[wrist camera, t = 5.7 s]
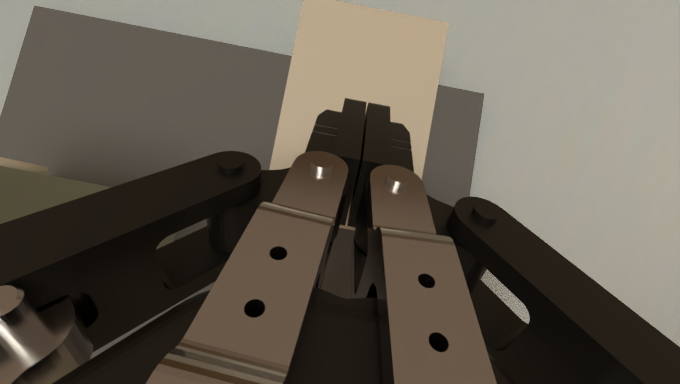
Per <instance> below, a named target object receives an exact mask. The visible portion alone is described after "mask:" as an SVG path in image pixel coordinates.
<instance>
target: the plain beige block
mask: <svg viewBox="0 0 680 384" xmlns="http://www.w3.org/2000/svg"><path fill="white" fill-rule="evenodd" d="M448 25H449V23H446V22H441V21H436V20H431V19H426V18H421V17H416V16H411V15H406V14H401V13H396V12H391V11H386V10H381V9H376V8H371V7H366V6H361V5H356V4H351V3H346V2H341V1H336V0H303V3H302V8H301V13H300V18H299V23H298V28H297V33H296V38H295V43H294V48H293V53H292V58H291V63H290V68H289V73H288V78H287V83H286V88H285V93H284V98H283V103H282V108H281V113H280V118H279V123H278V128H277V133H276V138H275V143H274V148H273V153H272V158H271V163H270V168H269V170H280V169H286V168H290V167H291V166H292V164H293V162H294V160H295V159H296V158H297V157H298V156H299V155H301V154H303V153H305V151H306V148H307V145H308V142H309V139H310V136H311V133H312V131H313V128H314V125H315V122H316V119H317V116H318V115H319V114H321V113H322V112H324V111H325V110H332V111H338V112H342V109H343V105H344V100H345V98H349V99H354V100H359V101H364V102H367V103H366V109H367V105H368V102H370V103H375V104H380V105H385V106H390V122H395V123H400V124H403V125H404V126H405V127H406V129H407V130H408V131H409V132H410V139H411V151H412V158H413V167H414V173H415V174H416V175H418V176H419V177H420V178H421V180H422V175H423V169H424V163H425V157H426V152H427V146H428V140H429V134H430V129H431V123H432V117H433V111H434V106H435V100H436V94H437V88H438V83H439V77H440V71H441V65H442V60H443V54H444V48H445V42H446V37H447V31H448ZM365 114H366V112H365ZM349 209H350V206H349ZM348 217H349V211H348V215H347V219H346V224H345V226H344V225H340V226H339V228H344V229H349V230H355V227H350V226H347V225H348Z"/></svg>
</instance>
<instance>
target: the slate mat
mask: <svg viewBox="0 0 680 384" xmlns="http://www.w3.org/2000/svg"><path fill="white" fill-rule="evenodd" d="M291 58H292V56H288V55H283V54H278V53H273V52H268V51H263V50H258V49H253V48H248V47H242V46H237V45H232V44H227V43H222V42H217V41H212V40H207V39H202V38H197V37H191V36H186V35H181V34H176V33H171V32H166V31H161V30H156V29H151V28H146V27H140V26H135V25H130V24H125V23H120V22H115V21H110V20H105V19H100V18H95V17H89V16H84V15H79V14H74V13H69V12H64V11H59V10H54V9H49V8H44V7H38V6H34V9H33V12H32V15H31V19H30V22H29V25H28V28H27V32H26V35H25V38H24V41H23V45H22V48H21V51H20V55H19V58H18V61H17V64H16V68H15V71H14V74H13V78H12V81H11V84H10V87H9V91H8V94H7V97H6V101H5V104H4V107H3V110H2V114H1V117H0V157H3V158H8V159H13V160H18V161H22V162H27V163H32V164H37V165H41V166H46V167H49V168H48V171H47V175H51V176H56V177H61V178H66V179H72V180H77V181H82V182H87V183H92V184H98V185H103V186H108V187H114V186H117V185H120V184H123V183H126V182H129V181H132V180H135V179H138V178H141V177H145V176H148V175H151V174H154V173H157V172H160V171H163V170H166V169H169V168H172V167H175V166H178V165H181V164H184V163H187V162H190V161H193V160H196V159H199V158H202V157H205V156H208V155H211V154H214V153H218V152H223V151H239V152H244V153H247V154H250V155H252V156H253V157H255V158H256V159H257V160H258V161H259V162H260V164H261V170H269V168H270V163H271V158H272V153H273V148H274V143H275V138H276V133H277V128H278V123H279V118H280V113H281V108H282V103H283V98H284V93H285V88H286V83H287V78H288V73H289V68H290V63H291ZM483 99H484V94H482V93H477V92H472V91H467V90H462V89H457V88H452V87H446V86H441V85H438V88H437V94H436V100H435V106H434V111H433V117H432V123H431V129H430V134H429V140H428V146H427V152H426V157H425V163H424V169H423V175H422V181H423V184H424V187H425V191H426V194H427V195H429V196H430V197H432V198H434V199H436V200H438V201H440V202H443V203H445V204H448V205H450V206H453V207H454V206H455V204H456V202H457V201H458V200H459V199H461V198H464V197H469V196H470V189H471V182H472V175H473V168H474V161H475V154H476V147H477V140H478V133H479V127H480V120H481V113H482V106H483ZM206 226H207V219H205V220H203V221H200V222H198V223H196V224H194V225H192V226H189V227H187V228H185V229H183V230H180V231H178V232H176V235H175V239H174V241H175V240H178V239H180V238H182V237H184V236H186V235H188V234H190V233H193V232H195V231H197V230H199V229H201V228H203V227H206ZM354 235H355V230H349V229H344V228H339V230H338V234H337V237H336V238H335V239H334V242H333V247H332V251H331V254H330V258H329V262H328V265H327V269H326V273H325V276H324V280H323V284H322V288H321V289H322V290H325V291H327V292H329V293H332V294H334V295H336V296H339V297H341V298H346V299H351V246H352V243H353V239H354ZM215 282H216V281H215ZM215 282H213V283H211V284H210V285H208V286H206V287H205V288H203V289H201V290H199V291H198V292H196V293H194V294H193V295H191V296H189V297H187V298H186V299H184V300H182V301H180V302H179V303H177V304H175V305H174V306H172V307H170V308H168V309H167V310H165V311H163V312H162V313H160V314H158V315H156V316H155V317H153V318H151V319H150V320H148V321H146V322H144V323H143V324H141V325H139V326H138V327H136V328H134V329H132V330H131V331H129V332H127V333H126V334H124V335H122V336H120V337H119V338H117V339H115V340H113V341H112V342H110V343H108V344H107V345H105V346H103V347H101V348H100V349H98V350H96V351H95V352H93V353H92V355H91V358H90V359H92V358H93V357H95V356H97V355H98V354H100V353H101V352H103V351H105V350H106V349H108V348H109V347H111V346H113V345H114V344H116V343H117V342H119V341H121V340H122V339H124V338H126V337H127V336H129V335H130V334H132V333H134V332H135V331H137V330H138V329H140V328H142V327H143V326H145V325H146V324H148V323H150V322H151V321H153V320H154V319H156V318H158V317H159V316H161V315H162V314H164V313H166V312H167V311H169V310H170V309H172V308H174V307H175V306H177V305H178V304H180V303H182V302H184V301H185V300H187V299H189V298H191V297H193V296H195V295H198V294H200V293H203V292H205V291H208V290H211V289H212V287H213V285H214V283H215Z"/></svg>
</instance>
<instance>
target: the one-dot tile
mask: <svg viewBox="0 0 680 384" xmlns="http://www.w3.org/2000/svg"><path fill="white" fill-rule="evenodd" d="M48 168H49V167H46V166H41V165H37V164H32V163H27V162H22V161H18V160H13V159H8V158H3V157H0V224H2V223H5V222H8V221H11V220H14V219H17V218H20V217H23V216H26V215H29V214H32V213H35V212H38V211H41V210H44V209H47V208H50V207H54V206H57V205H60V204H63V203H66V202H69V201H72V200H75V199H78V198H81V197H84V196H87V195H90V194H93V193H96V192H99V191H102V190H105V189H108V188H111V187H108V186H103V185H98V184H92V183H87V182H82V181H77V180H72V179H66V178H61V177H56V176H51V175H47V171H48ZM175 235H176V233H174V234H172V235H170V236H168V237H166V238H165V239H164V240H162V241H161V242H160V244H159V245H158V247H157V248H156V249H158V248H160V247H163V246H165V245H167V244H169V243H171V242H173V241H174V239H175Z"/></svg>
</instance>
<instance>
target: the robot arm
mask: <svg viewBox="0 0 680 384" xmlns="http://www.w3.org/2000/svg"><path fill="white" fill-rule="evenodd" d="M366 103H367V102H364V101H359V100H354V99H349V98H345V100H344V105H343V109H342V112H338V111H332V110H325V111H324V112H322V113H321V114H319V115H318V116H317V119H316V122H315V125H314V128H313V131H312V133H311V136H310V139H309V142H308V145H307V148H306V151H305V153H303V154H301V155H299V156H298V157H297V158H296V159H295V160H294V162H293V164H292V166H291V167H290V168H286V169H280V170H261V164H260V162H259V161H258V160H257V159H256V158H255V157H253V156H252V155H250V154H247V153H244V152H239V151H223V152H218V153H214V154H211V155H208V156H205V157H202V158H199V159H196V160H193V161H190V162H187V163H184V164H181V165H178V166H175V167H172V168H169V169H166V170H163V171H160V172H157V173H154V174H151V175H148V176H145V177H141V178H138V179H135V180H132V181H129V182H126V183H123V184H120V185H117V186H114V187H111V188H108V189H105V190H102V191H99V192H96V193H93V194H90V195H87V196H84V197H81V198H78V199H75V200H72V201H69V202H66V203H63V204H60V205H57V206H54V207H50V208H47V209H44V210H41V211H38V212H35V213H32V214H29V215H26V216H23V217H20V218H17V219H14V220H11V221H8V222H5V223H2V224H0V384H680V347H679V346H677V345H676V344H675V343H673V342H672V341H671V340H670V339H668V338H667V337H666V336H665V335H663V334H662V333H661V332H659V331H658V330H657V329H656V328H654V327H653V326H652V325H650V324H649V323H648V322H647V321H645V320H644V319H643V318H641V317H640V316H639V315H638V314H636V313H635V312H634V311H632V310H631V309H630V308H629V307H627V306H626V305H625V304H624V303H622V302H621V301H620V300H618V299H617V298H616V297H615V296H613V295H612V294H611V293H609V292H608V291H607V290H606V289H604V288H603V287H602V286H600V285H599V284H598V283H597V282H595V281H594V280H593V279H591V278H590V277H589V276H588V275H586V274H585V273H584V272H583V271H581V270H580V269H579V268H577V267H576V266H575V265H574V264H572V263H571V262H570V261H568V260H567V259H566V258H565V257H563V256H562V255H561V254H559V253H558V252H557V251H556V250H554V249H553V248H552V247H550V246H549V245H548V244H547V243H545V242H544V241H543V240H542V239H540V238H539V237H538V236H536V235H535V234H534V233H533V232H531V231H530V230H529V229H527V228H526V227H525V226H524V225H522V224H521V223H520V222H518V221H517V220H516V219H515V218H513V217H512V216H511V215H509V214H508V213H507V212H506V211H504V210H503V209H502V208H500V207H499V206H498V205H496V204H494V203H492V202H490V201H488V200H485V199H482V198H478V197H464V198H461V199H459V200H458V201H457V202H456V204H455V206H454V207H453V206H450V205H448V204H445V203H443V202H440V201H438V200H436V199H434V198H432V197H430V196H429V195H427V194H426V191H425V187H424V184H423V181H422V180H421V178H420V177H419V176H418V175H416V174H415V173H414V167H413V158H412V151H411V139H410V132H409V131H408V130H407V129H406V127H405V126H404V125H403V124H400V123H395V122H390V106H385V105H380V104H375V103H370V102H368V105H367V109H366ZM365 112H366V114H365ZM349 206H350V209H349ZM348 211H349V217H348V225H347V226H350V227H355V235H354V239H353V243H352V246H351V299H346V298H341V297H339V296H336V295H334V294H332V293H329V292H327V291H325V290H322V289H321V288H322V284H323V280H324V276H325V273H326V269H327V265H328V262H329V258H330V254H331V251H332V247H333V242H334V239H335V238H336V237H337V234H338V230H339V226H340V225H344V226H345V224H346V219H347V215H348ZM205 219H207V226H206V227H203V228H201V229H199V230H197V231H195V232H193V233H190V234H188V235H186V236H184V237H182V238H180V239H178V240H175V241H173V242H171V243H169V244H167V245H165V246H163V247H160V248H158V249H156V248H157V247H158V245H159V244H160V242H161V241H162V240H164V239H165V238H166V237H168V236H170V235H172V234H174V233H176V232H178V231H180V230H183V229H185V228H187V227H189V226H192V225H194V224H196V223H198V222H200V221H203V220H205ZM487 269H488V270H489V271H490V272H491V273H492V274H493V275H494V276H495V277H496V278H497V279H498V280H499V281H500V282H501V283H502V284H503V285H505V286H506V287H507V288H508V289H509V290H510V291H511V292H512V293H513V294H514V295H515V296H516V297H517V298H518V299H519V300H520V301H521V302H522V303H523V304H524V305H525V306H526V308H527V310H528V312H529V315H530V322H529V324H527V323H525V322H524V321H522V320H521V319H520V318H519V317H518V316H517V315H516V314H515V313H514V312H513V311H512V310H511V309H510V308H509V307H508V306H507V305H506V304H505V303H504V302H503V301H502V300H501V299H500V298H499V297H498V296H497V295H495V294H494V293H493V292H492V291H491V290H490V289H489V288H488V287H487V286H486V285H485V284H484V283H483V282H482V281H481V280H480V279H481V278H482V276H483V275H484V273H485V272H486V270H487ZM215 281H216V282H215ZM213 282H215V283H214V285H213V287H212V289H211V290H208V291H205V292H203V293H200V294H198V295H195V296H193V297H191V298H189V299H187V300H185V301H184V302H182V303H180V304H178V305H177V306H175V307H174V308H172V309H170V310H169V311H167V312H166V313H164V314H162V315H161V316H159V317H158V318H156V319H154V320H153V321H151V322H150V323H148V324H146V325H145V326H143V327H142V328H140V329H138V330H137V331H135V332H134V333H132V334H130V335H129V336H127V337H126V338H124V339H122V340H121V341H119V342H117V343H116V344H114V345H113V346H111V347H109V348H108V349H106V350H105V351H103V352H101V353H100V354H98V355H97V356H95V357H93V358H92V359H90V358H91V355H92V353H93V352H95V351H96V350H98V349H100V348H101V347H103V346H105V345H107V344H108V343H110V342H112V341H113V340H115V339H117V338H119V337H120V336H122V335H124V334H126V333H127V332H129V331H131V330H132V329H134V328H136V327H138V326H139V325H141V324H143V323H144V322H146V321H148V320H150V319H151V318H153V317H155V316H156V315H158V314H160V313H162V312H163V311H165V310H167V309H168V308H170V307H172V306H174V305H175V304H177V303H179V302H180V301H182V300H184V299H186V298H187V297H189V296H191V295H193V294H194V293H196V292H198V291H199V290H201V289H203V288H205V287H206V286H208V285H210V284H211V283H213Z"/></svg>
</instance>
